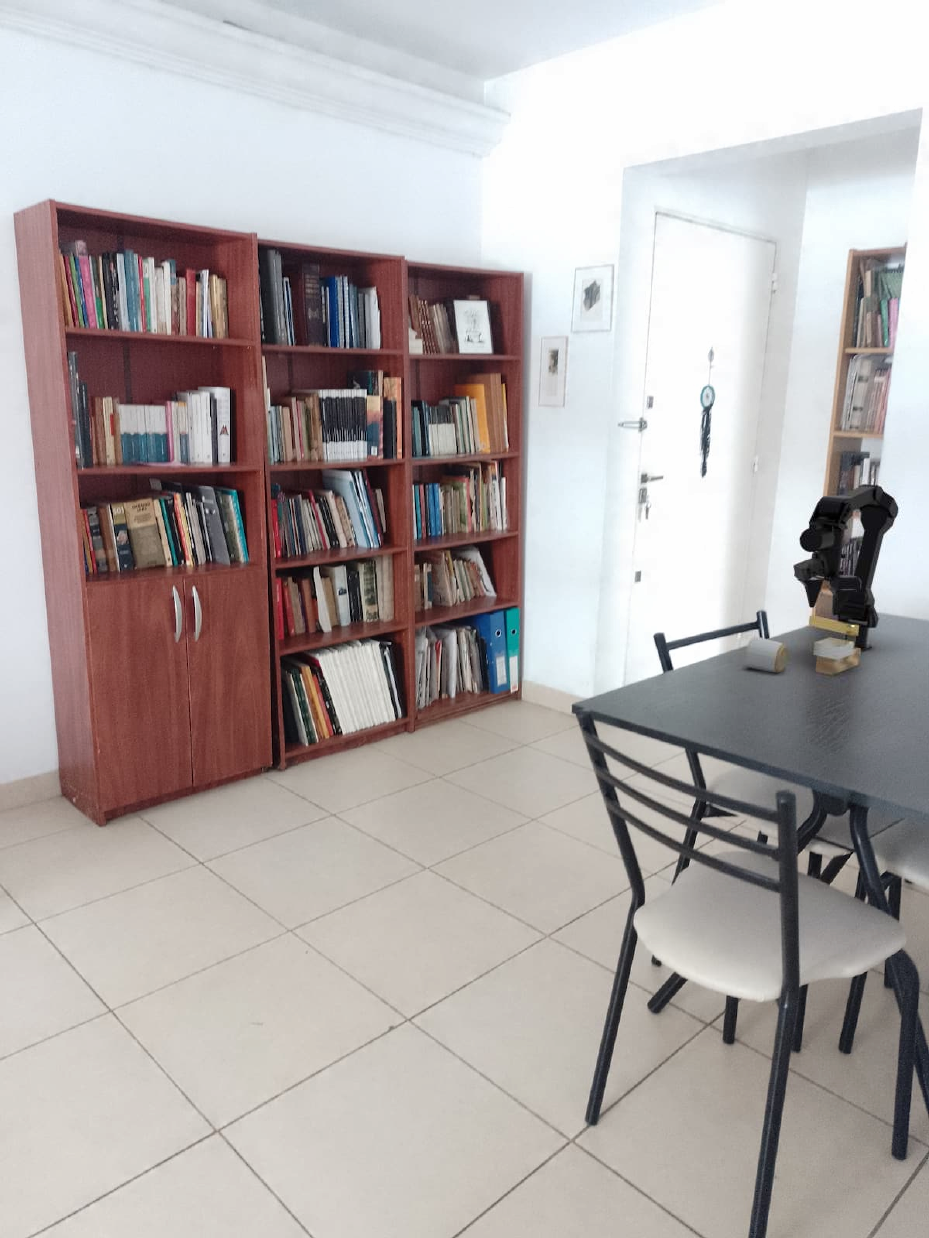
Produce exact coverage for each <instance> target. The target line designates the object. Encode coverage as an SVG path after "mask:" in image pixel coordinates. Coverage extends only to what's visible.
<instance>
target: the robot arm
mask: <svg viewBox="0 0 929 1238" xmlns="http://www.w3.org/2000/svg"><path fill="white" fill-rule="evenodd" d="M897 503H898V502H896V500H895V498H894V497H893V496H891V494H888V493H887V492H886V491H884V489H883V487H882V486H880V485H879V484H868V483H863V484H860V485H859V486H858V487H856V488H854V489H852V490H849V491H848V492H845V493H843V494H841V495H824V496H822V497H820V498H819V500H818V502H817V503H816V505H815V507H814V510H813V511H812V514H811V516H810V519H809V520H808V528H806V529H805V530H803V531H802V532H801V534H800V536H799V539H798V540H799V545H800V547H801V548H802V549H803V550H804V551H805V552H808V553H811V558H809V559H805V560H803V561H800V562H798V563H795V564H793V566H792V567H793V571H794V572H793V573H794V574H793V575H794V577H795V578H796V580H797V582H800V583H801V584H802V585H803V587H804V590H805V592H806V598H807V601H808V606H809V608H811V609H813V608H815V605H816V603H817V602H818V599H819V595H820V592H821V589H822V586H823V583H824V581H826V582H829V586H830V587H828V590H829V592H830V593H831V594H832V603H831V604H832V605H831V606H832V608H831V609H832V611H831V612H832V613H831V614H832V616H835V617H836V616H837V621H840V622H845V623H849V624H857V625H859V630H858V636H856V640H855V647H856V648H861V652H862V651H865V650H868V649H871V648H872V645H871V644H868V640H869V639H868V637H869V631H870V629H876V628H877V626H878V624H879V620H880V617H879V615H878V612H877V610H876V608H875V604H876V603H875V602H876V598H875V596H874V594H873V592H872V591H873V590H872V586H873V582H874V577H875V573H876V570H877V565H878V561H879V556H880V552H881V548H882V544H883V539H884V536H885V534H886V533H888V531H889V530H890V529H891V528H892V527H893V526H894V523H895V521H896V518H897V517H898V514H899V506H898V504H897ZM856 510H858V511H859V513H860V519H859V520H860V523H861V527H862V528H863V534H862V539H861V543H860V546H859V547H860V548H859V550H858V555H857V560H856V565H855V568H854V572H853V573H854V574H853V575H851V574H844V573H845V570H842V569H841V567H842V566H841V565H842V559H846V556H847V554H846V553H843V550H844V549H843V548H844V540H845V533H846V532H845V531H846V530H848V528H849V526H848V525H847V523H848V522H849V520H850V519H851V518H852V517H853V516H854V512H855V511H856ZM843 634H844V633H843ZM843 640H846V641H847V635H846V634H844V635H843Z"/></svg>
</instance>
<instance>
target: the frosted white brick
mask: <svg viewBox="0 0 929 1238" xmlns="http://www.w3.org/2000/svg"><path fill="white" fill-rule="evenodd" d="M813 644H814V646H813V651H812V653H813V656H816V657H817V656H822V657H827V658H832V659H836V660H839V659H841V658H844V657H846V656H849V655H851V654H853V646H854V642H852V641H846V640H844V639H841V638H837V637H836V638H835V637H831V636H829V637H826V638H824V639H821V640H818V641H815V642H814V643H813Z"/></svg>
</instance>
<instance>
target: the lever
mask: <svg viewBox="0 0 929 1238" xmlns="http://www.w3.org/2000/svg"><path fill="white" fill-rule="evenodd" d="M808 619H809V620H808V626H811V627H815V628H820V629H824V630H829V631H832V632H836V633H842V634H846V635H850V636H858V630H859V625H857V624H849V623H845V622H840V621H838V620H835V619H831V618H827V617H822V616H818V615H809V618H808Z"/></svg>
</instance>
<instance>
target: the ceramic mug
mask: <svg viewBox="0 0 929 1238" xmlns="http://www.w3.org/2000/svg"><path fill="white" fill-rule="evenodd" d="M788 655H789V649H788V647H787V646H786V644H783V643H782V642H779V641H776V640H771V639H768V638H767V639H766V638H763V637H761V636H760V637H759V636H755V635H754V636H753V637H751V639H750V640H749V641H748V643H747V647H746V650H745V656H744V663H745V666H746V667H747V668H750V669H755V670H758V671H759V670H760V671H765V672H768V673H781V672H782V671H783V670H784V669H785V667H786V665H787V663H788V658H789V657H788Z"/></svg>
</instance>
